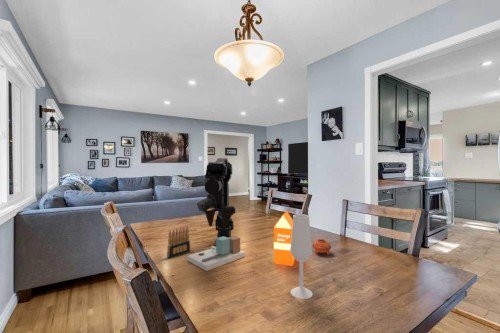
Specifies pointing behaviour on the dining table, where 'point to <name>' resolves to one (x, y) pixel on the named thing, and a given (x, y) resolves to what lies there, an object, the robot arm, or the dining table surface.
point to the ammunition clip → (178, 243)
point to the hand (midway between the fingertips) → (216, 228)
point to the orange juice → (283, 241)
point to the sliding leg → (222, 245)
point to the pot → (322, 246)
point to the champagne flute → (301, 250)
